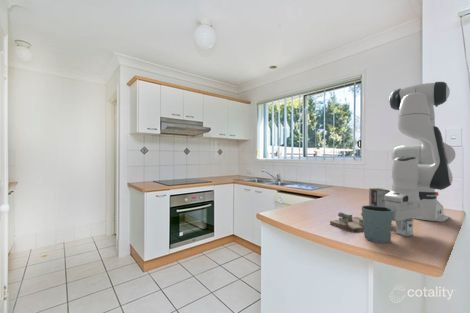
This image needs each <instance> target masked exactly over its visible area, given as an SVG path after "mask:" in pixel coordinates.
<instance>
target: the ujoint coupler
mask: <svg viewBox="0 0 470 313" xmlns="http://www.w3.org/2000/svg"><path fill="white" fill-rule="evenodd" d="M395 224H396V223H395ZM402 224H403V226H404V230H398V229H397V224H396V230H395V231H396V232H395V233H396V234H397V235H401V236H405V237H411V236H413V235H414V221H413V220H409V219H404V220H403V222H402Z"/></svg>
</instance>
